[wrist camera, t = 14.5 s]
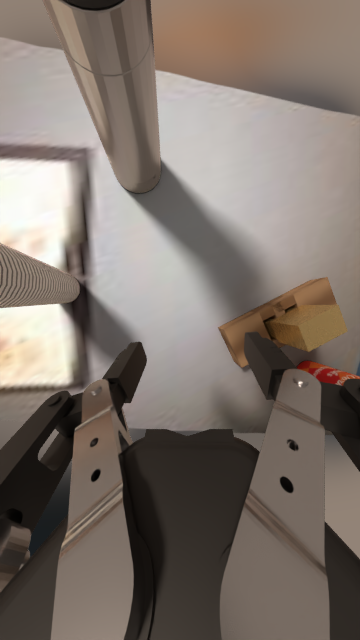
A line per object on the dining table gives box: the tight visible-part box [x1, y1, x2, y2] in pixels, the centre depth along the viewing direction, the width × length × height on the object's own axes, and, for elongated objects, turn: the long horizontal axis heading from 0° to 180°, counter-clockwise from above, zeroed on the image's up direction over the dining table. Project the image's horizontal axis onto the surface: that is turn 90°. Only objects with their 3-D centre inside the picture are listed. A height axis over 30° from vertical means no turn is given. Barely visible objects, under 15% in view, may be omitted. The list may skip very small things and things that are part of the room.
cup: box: [0, 243, 80, 308], centre depth 21 cm, size 8×8×16 cm
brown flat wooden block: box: [218, 277, 337, 368], centre depth 31 cm, size 9×24×4 cm, turn 117°
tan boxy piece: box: [263, 305, 347, 352], centre depth 27 cm, size 5×7×11 cm, turn 117°
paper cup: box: [297, 361, 360, 386], centre depth 27 cm, size 8×8×14 cm
